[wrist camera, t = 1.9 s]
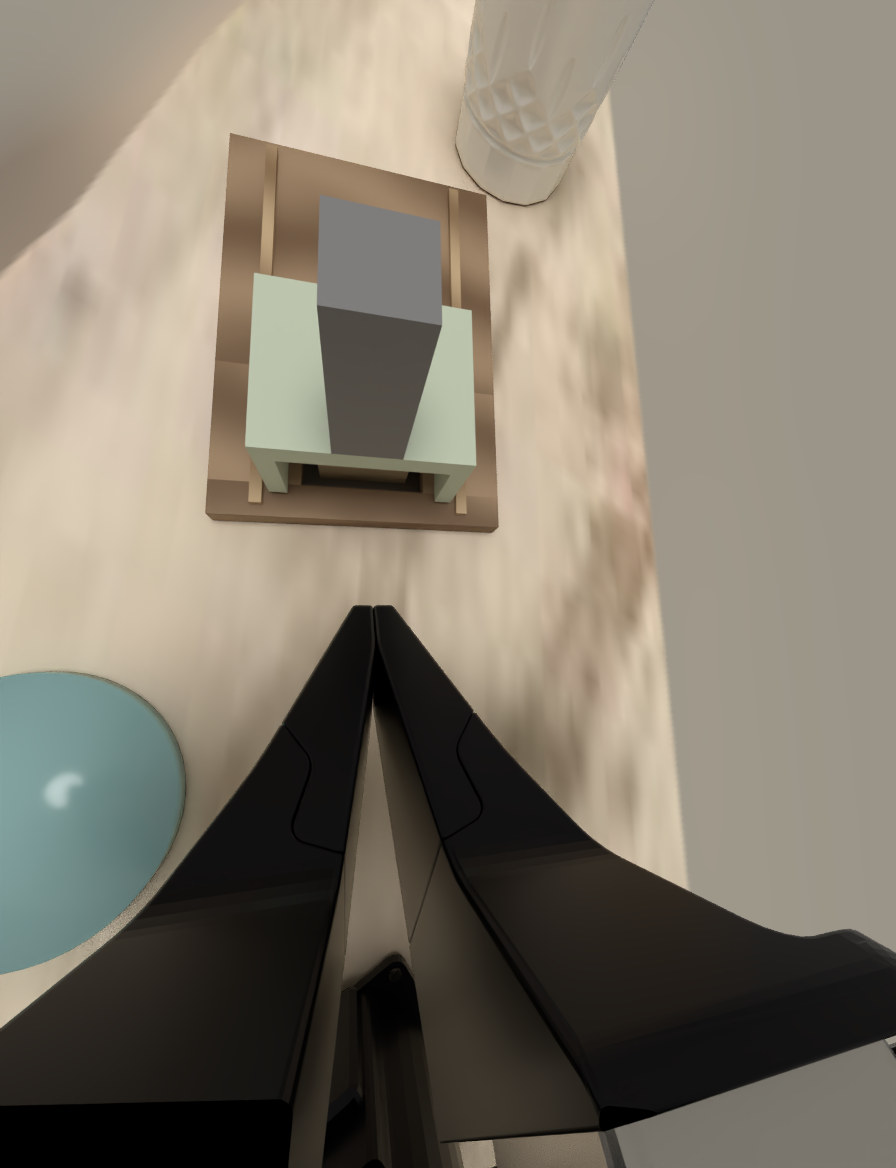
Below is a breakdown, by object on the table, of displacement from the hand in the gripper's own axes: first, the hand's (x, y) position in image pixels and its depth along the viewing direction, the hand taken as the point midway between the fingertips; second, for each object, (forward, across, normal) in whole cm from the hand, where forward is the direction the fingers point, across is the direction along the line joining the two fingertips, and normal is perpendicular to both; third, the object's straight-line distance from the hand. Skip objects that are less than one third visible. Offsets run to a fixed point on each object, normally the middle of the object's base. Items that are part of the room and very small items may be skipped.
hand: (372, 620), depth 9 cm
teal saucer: (+3, +12, +12) cm, 17 cm away
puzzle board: (+18, 0, -3) cm, 18 cm away
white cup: (+28, -9, -13) cm, 32 cm away
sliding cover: (+13, 0, 0) cm, 13 cm away
